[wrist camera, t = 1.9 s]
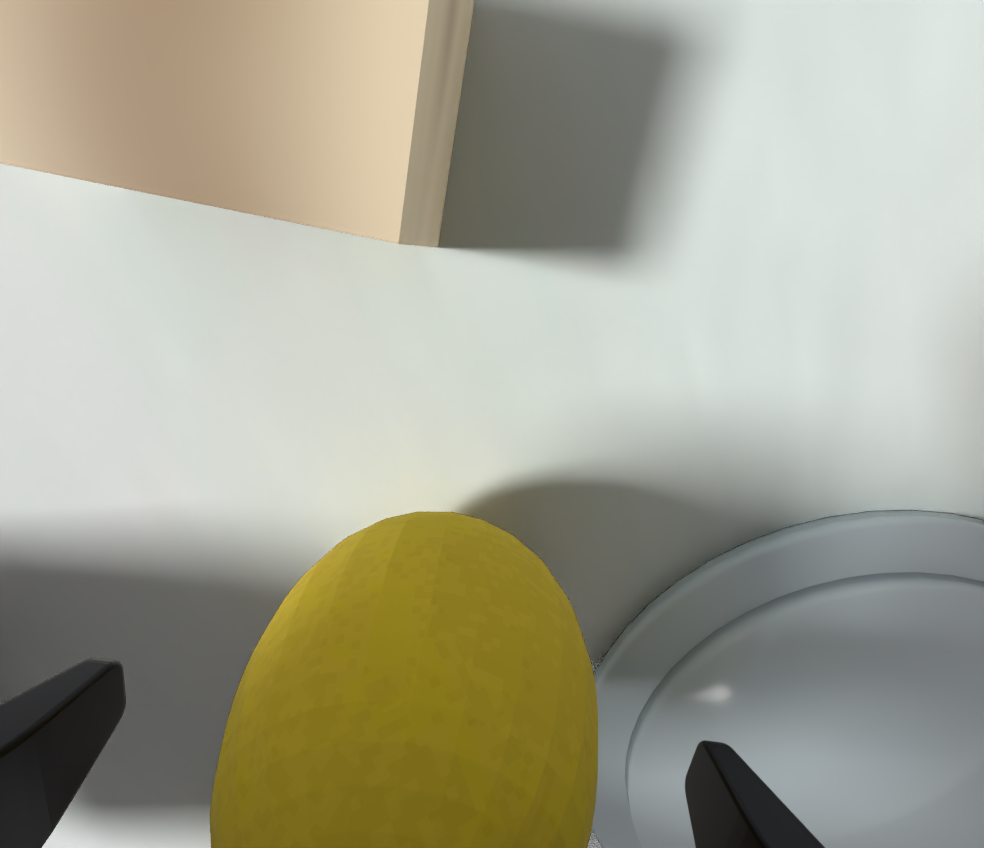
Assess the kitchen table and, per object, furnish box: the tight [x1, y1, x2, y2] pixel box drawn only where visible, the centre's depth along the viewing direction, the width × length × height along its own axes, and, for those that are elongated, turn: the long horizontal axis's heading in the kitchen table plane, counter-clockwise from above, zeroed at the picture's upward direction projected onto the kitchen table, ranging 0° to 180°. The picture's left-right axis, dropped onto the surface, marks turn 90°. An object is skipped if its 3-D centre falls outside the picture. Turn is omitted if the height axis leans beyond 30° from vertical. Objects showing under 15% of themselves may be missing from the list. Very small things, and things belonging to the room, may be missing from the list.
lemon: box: [210, 512, 598, 848], centre depth 8 cm, size 6×6×8 cm
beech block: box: [0, 0, 474, 247], centre depth 7 cm, size 6×4×4 cm, turn 79°
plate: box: [592, 510, 984, 848], centre depth 13 cm, size 14×14×1 cm
